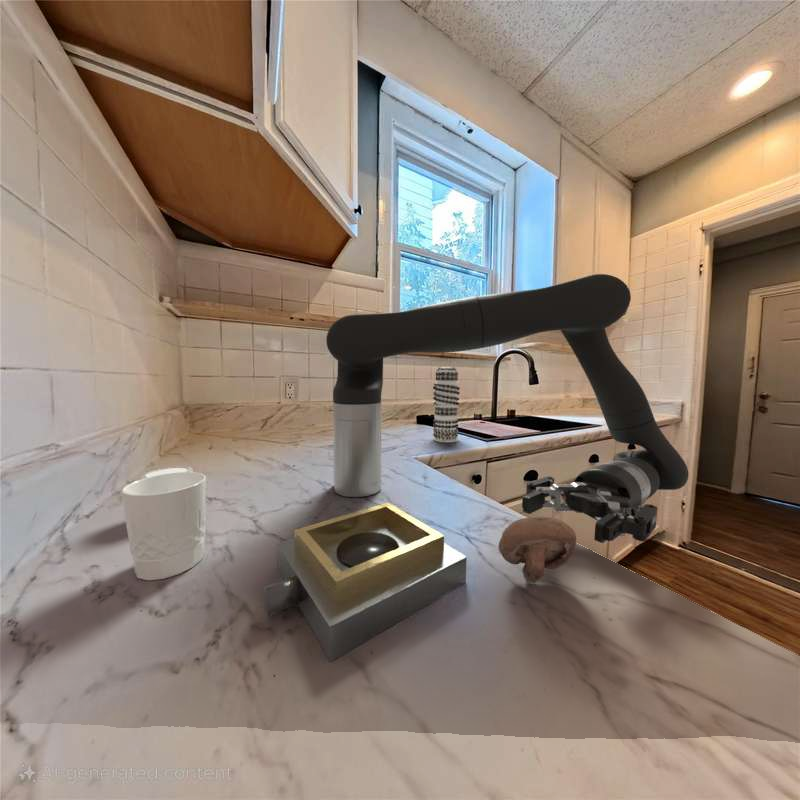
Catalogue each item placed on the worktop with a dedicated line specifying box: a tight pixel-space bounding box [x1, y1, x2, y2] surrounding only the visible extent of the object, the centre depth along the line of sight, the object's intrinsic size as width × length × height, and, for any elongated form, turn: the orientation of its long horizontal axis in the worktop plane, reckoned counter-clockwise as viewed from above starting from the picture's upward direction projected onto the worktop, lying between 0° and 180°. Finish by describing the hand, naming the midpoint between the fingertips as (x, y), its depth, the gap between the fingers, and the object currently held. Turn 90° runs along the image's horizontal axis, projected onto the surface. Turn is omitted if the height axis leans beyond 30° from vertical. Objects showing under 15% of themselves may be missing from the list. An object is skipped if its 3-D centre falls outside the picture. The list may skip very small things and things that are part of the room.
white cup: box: [121, 471, 207, 581], centre depth 37 cm, size 8×8×10 cm
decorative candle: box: [432, 366, 461, 443], centre depth 107 cm, size 9×9×25 cm
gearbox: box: [262, 502, 468, 663], centre depth 35 cm, size 17×19×5 cm
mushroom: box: [498, 516, 577, 586], centre depth 34 cm, size 8×6×8 cm
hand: (558, 518), depth 37 cm, fingers open, 8 cm apart
